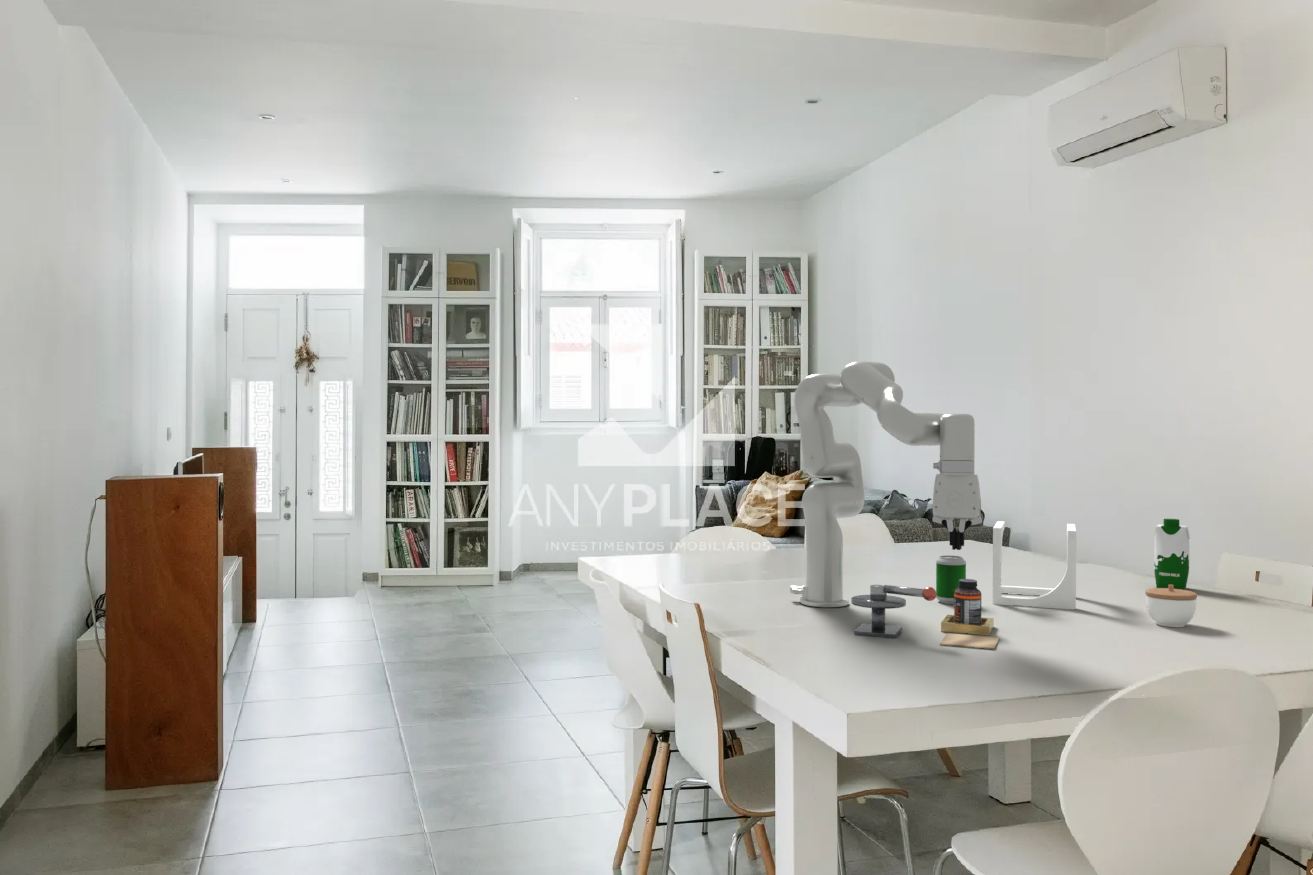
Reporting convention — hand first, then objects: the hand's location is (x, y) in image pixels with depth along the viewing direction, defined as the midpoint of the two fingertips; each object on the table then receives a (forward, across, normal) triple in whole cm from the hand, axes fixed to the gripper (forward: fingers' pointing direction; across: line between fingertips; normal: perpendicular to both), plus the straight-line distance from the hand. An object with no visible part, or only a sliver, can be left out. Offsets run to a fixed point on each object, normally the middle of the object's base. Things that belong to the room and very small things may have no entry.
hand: (956, 549), depth 223 cm
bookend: (+19, +12, +50) cm, 55 cm away
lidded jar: (+19, +44, +30) cm, 57 cm away
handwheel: (+12, -12, -10) cm, 20 cm away
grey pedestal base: (+19, -16, -9) cm, 26 cm away
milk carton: (+19, +46, +88) cm, 101 cm away
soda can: (+19, -7, +37) cm, 42 cm away
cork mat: (+19, +4, -10) cm, 22 cm away
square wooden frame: (+19, +2, +4) cm, 19 cm away
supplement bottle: (+19, +2, +4) cm, 19 cm away
